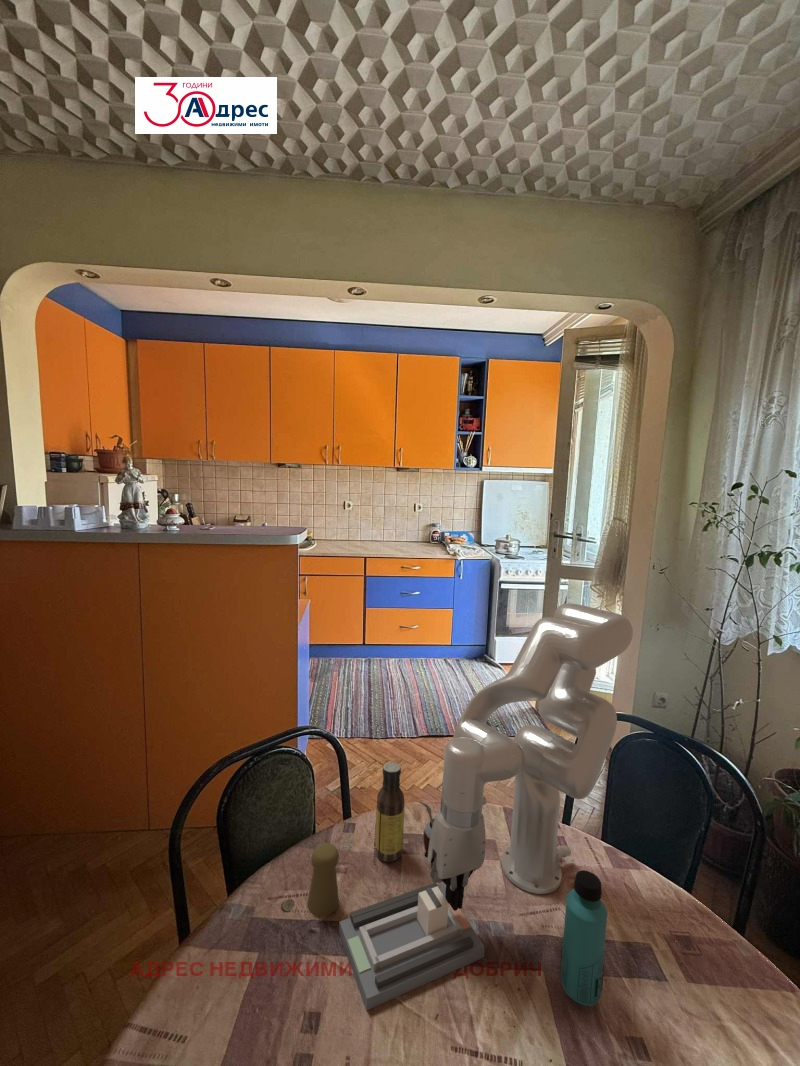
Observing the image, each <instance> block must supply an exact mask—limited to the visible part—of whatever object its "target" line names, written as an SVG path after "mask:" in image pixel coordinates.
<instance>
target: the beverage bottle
mask: <svg viewBox="0 0 800 1066" xmlns="http://www.w3.org/2000/svg"><path fill="white" fill-rule="evenodd" d="M574 878H575V879H574V881H573V889H571V890H569V891H568V892H567V894H566V898H565V912H564V913H565V914H564V925H563V935H562V942H561V943H562V945H561V950H560V953H561V954H560V965H559V966H560V967H559V970H560V973H559V977H560V982H561V985H562V987H563V990H564V991H565V993H566V994H567V996H568V997H570V999H572V1000H573V1001H574V1002H575V1003H577V1004H580V1005H582V1006H587V1007H592V1006H595V1005H596V1004H597V1003H598V1002H599V1000H600V999H601V997H602V996H603V995H602V994H603V985H604V969H605V957H606V956H605V953H606V952H605V950H606V934H607V931H606V930H607V919H608V910H607V909H608V908H607V906H606V904H605V903H604V901H603V900H602V899H601V898H602V893H603V892H602V882H601V880H600V878H599V877H598V876H597V875H596V874H594V873H593V872H591V871H590V870H589V871H588V870H585V869H584V870H579V871H577V872H576V874H575V877H574Z"/></svg>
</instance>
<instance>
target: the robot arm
mask: <svg viewBox="0 0 800 1066" xmlns="http://www.w3.org/2000/svg"><path fill="white" fill-rule="evenodd" d="M633 635H634V628H633V625H632V623H631V621H630V620H629V619H628V618H627V617H626V616H624V615H623V614H620V613H616V612H613V611H609V610H604V609H601V608H594V607H591V606H587V605H583V604H578V603H577V604H576V603H562V604H560V605H559V606H557V608H556V609H555V612H554V615H553V617H546V616H545V617H542V618H540V619H538V620H537V621H536V622H535V623H534V624H533V626H532V628H531V630H530V631H529V634H528V636H527V637H526V638H525V641H524V643H523V645H522V646H521V648H520V650H519V653H518V654H517V656H516V658H515V660H514V661H513V663H512V666H511V667H510V669H509V670H508V673H506V674H505V675H504V676H503V677H501V678H499V679H496V680H494V681H492V682H490V683H489V684H487V685H486V686H484V687H483V688H482V689H480V690H479V691H477V693H476V694H474V695H473V697H472V698H471V699H470V700H469V702H468V703H467V705H466V706H465V709H464V711H463V712H462V714H461V716H460V718H459V720H458V722H457V724H456V727H455V729H454V732H453V738H451V739H450V740H449V741H448V742H447V743H446V744H445V745H446V746H445V747H444V748H445V749H444V753H443V754H444V756H443V757H444V758H443V769H442V770H443V771H442V782H441V783H442V785H441V796H440V797H441V798H440V807H439V808H440V809H439V812H436V813H435V816H434V818H435V819H434V818H433V819H434V822H433V826H432V830H431V835H430V841H429V849H428V857H427V862H428V865H432V866H431V870H430V873H429V878H430V880H431V881H432V884H433V883H436V884H438V883H443V884H444V885H445V887H446V893H445V898H446V900H447V902H448V903H449V904H450V905H451V907H452V908H453V910H454V911H456V910H457V909H458V908H459V909H460V910H461V909H463V902H464V894H465V887H466V886H468V883H469V879H470V877H471V876H472V874H473V873H474V872H475V871H477V870H478V869H480V868H481V867H482V866H483V865H484V862H485V857H486V844H487V842H486V825H485V817H484V814H483V813H482V812H483V807H484V805H486V804H487V798H486V797H485V796H484V792H485V791H484V790H485V789H484V787H485V784H486V783H490V782H491V783H492V782H501V781H506V780H507V781H508V780H509V779H512V778H514V787H513V788H514V791H513V803H512V815H511V827H510V829H511V830H510V842H509V847H507V848H506V849H505V850H504V851H503V853H502V855H501V867H502V871H503V873H504V875H505V876H506V878H507V879H509V881H510V882H511V883H512V884H514V885H515V886H517V888H519V889H521V890H523V891H526V892H528V893H532V894H536V895H546V894H550V893H553V892H554V891H556V890H558V888H559V887H560V886H561V884H562V868H561V867H560V864H559V862H560V861H561V860H562V858H566V857H569V856H571V855H572V849H571V848H570V847H569V846H568V845H563V846H561V847H559V844H558V831H559V830H558V829H559V820H560V819H559V818H560V809H561V795H560V792H562V793H563V794H565V795H567V796H569V797H571V798H572V799H575V800H583V799H586V798H587V797H588V796H589V795H590V794H591V793H592V791H593V790H594V789H595V786H596V783H597V781H598V779H599V776H600V773H601V771H602V768H603V766H604V763H605V761H606V758H607V755H608V753H609V750H610V748H611V745H612V742H613V741H614V737H615V734H616V732H617V731H616V730H617V725H618V716H617V715H618V714H617V711H616V709H615V707H614V706H613V704H612V703H611V702H610V701H609V700H607V699H606V698H603V697H601V696H599V695H596V694H594V693H591V692H590V691H591V688H592V686H593V683H594V680H595V678H596V673H597V668H599V667H601V666H602V665H605V664H606V663H608V662H609V661H611V660H613V659H614V658H616V657H618V656H620V655H621V654H623V653H624V652H625V651H626V650H627V649H628V648H629V646H630V645H631V642H632V639H633V637H634V636H633ZM535 701H536V702H538V701H539V702H538V703H539V704H538V713H539V715H540V717H541V719H543V720H544V721H545V722H547V723H548V724H550V725H552V726H553V727H555V728H557V729H559V730H561V731H563V732H565V733H567V734H570V735H572V736H573V737H576V738H577V742H576V743H574V742H573V741H570V740H569V739H567V738H564V736H561V735H559V734H557V733H555V732H553V731H551V730H549V729H547V728H545V727H542V726H539V725H536V724H527V725H524V726H522V727H520V728H519V729H518V731H517V732H516V734H515V736H514V737H513V738H511V737H509V736H508V735H507V734H505V733H503V732H501V731H499V730H497V729H496V728H494V727H492V726H490V725H488V724H487V723H488V720H489V719H490V717H491V716H492V714H494V712H495V711H497V710H498V709H499V708H501V707H504V706H505V705H508V704H513V703H519V702H535ZM558 847H559V848H558Z"/></svg>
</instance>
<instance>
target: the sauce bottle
mask: <svg viewBox="0 0 800 1066" xmlns="http://www.w3.org/2000/svg"><path fill="white" fill-rule="evenodd" d="M401 770H402V768H401V765H400V763H397V762H391V761H390V762H386V763H385V764H384V765H383V766H382V775H383V776H382V777H383V778H382V787H381V789H380V790H379V792H378V793H377V796H376V797H377V798H376V815H375V854H376V856H377V857H378V859H379V860H380V861H382V862H389V863H391V862H394V861H396V860H398V859H400V858H401V856H402V854H403V847H404V831H405V829H404V828H405V827H404V826H405V825H404V824H405V796H404V792H403V791H402V789H401V787H400V785H401V783H400V781H401V778H400V777H401V772H402V771H401Z"/></svg>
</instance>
